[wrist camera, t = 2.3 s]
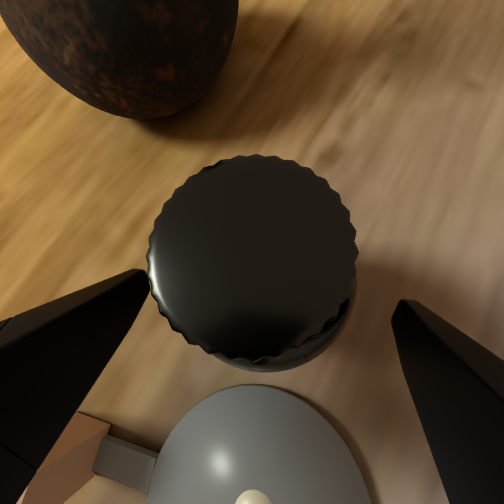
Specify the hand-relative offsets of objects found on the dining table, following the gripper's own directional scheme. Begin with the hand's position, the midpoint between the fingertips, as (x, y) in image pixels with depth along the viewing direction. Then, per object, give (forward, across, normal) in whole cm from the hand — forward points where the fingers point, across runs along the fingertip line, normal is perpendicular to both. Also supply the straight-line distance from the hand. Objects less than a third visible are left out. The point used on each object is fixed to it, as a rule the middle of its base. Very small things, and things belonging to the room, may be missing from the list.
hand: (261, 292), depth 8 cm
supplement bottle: (+7, 0, +6) cm, 9 cm away
